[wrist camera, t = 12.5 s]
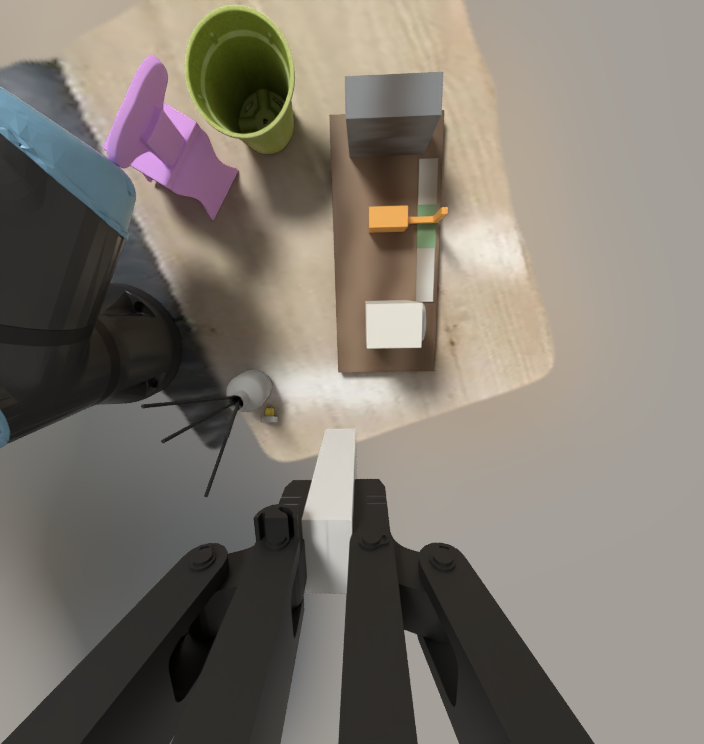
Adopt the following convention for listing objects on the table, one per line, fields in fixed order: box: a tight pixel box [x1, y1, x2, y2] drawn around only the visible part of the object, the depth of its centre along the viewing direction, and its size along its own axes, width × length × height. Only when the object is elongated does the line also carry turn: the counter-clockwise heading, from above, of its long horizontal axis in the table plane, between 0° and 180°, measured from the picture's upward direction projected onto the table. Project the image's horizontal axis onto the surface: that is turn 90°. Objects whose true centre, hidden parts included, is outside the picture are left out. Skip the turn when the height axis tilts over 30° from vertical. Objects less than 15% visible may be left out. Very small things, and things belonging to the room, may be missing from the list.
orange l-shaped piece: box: [368, 205, 448, 233], centre depth 34 cm, size 8×2×5 cm, turn 91°
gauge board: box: [330, 72, 444, 372], centre depth 34 cm, size 12×28×10 cm, turn 1°
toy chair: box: [103, 55, 238, 220], centre depth 30 cm, size 8×9×15 cm
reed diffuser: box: [141, 369, 278, 497], centre depth 33 cm, size 10×7×20 cm
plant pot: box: [184, 5, 295, 154], centre depth 32 cm, size 9×9×9 cm
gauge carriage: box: [365, 300, 426, 348], centre depth 34 cm, size 6×4×10 cm
